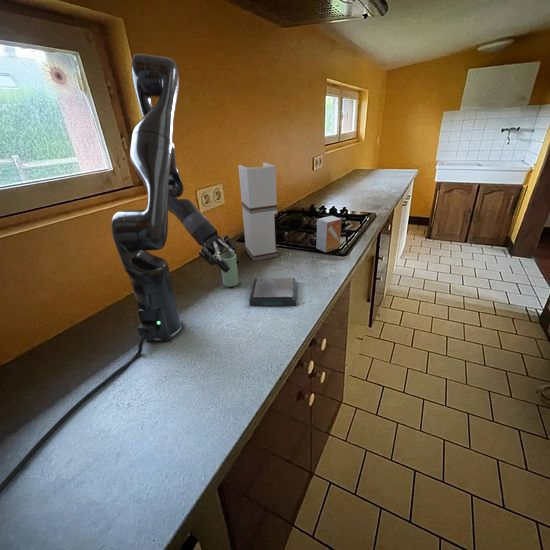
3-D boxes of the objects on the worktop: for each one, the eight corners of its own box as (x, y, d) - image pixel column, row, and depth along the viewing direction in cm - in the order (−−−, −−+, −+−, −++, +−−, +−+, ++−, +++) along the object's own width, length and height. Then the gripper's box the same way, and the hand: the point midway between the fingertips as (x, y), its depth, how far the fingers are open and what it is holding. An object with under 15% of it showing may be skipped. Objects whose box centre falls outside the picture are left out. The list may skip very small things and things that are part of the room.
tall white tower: (278, 256, 124) (275, 166, 107) (253, 260, 120) (246, 168, 104) (269, 246, 133) (265, 162, 117) (246, 250, 130) (238, 165, 114)
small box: (325, 253, 124) (327, 222, 118) (315, 248, 129) (316, 218, 123) (340, 248, 128) (342, 218, 122) (329, 244, 133) (331, 215, 127)
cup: (237, 286, 100) (234, 259, 96) (221, 286, 101) (217, 259, 96) (239, 278, 105) (237, 252, 101) (224, 278, 105) (221, 252, 101)
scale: (296, 306, 90) (296, 299, 89) (249, 306, 91) (249, 299, 90) (295, 283, 103) (295, 276, 102) (254, 283, 104) (254, 276, 103)
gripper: (189, 227, 91) (226, 270, 91) (218, 215, 102) (251, 253, 103) (179, 241, 96) (214, 282, 96) (208, 228, 107) (239, 264, 107)
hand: (233, 267), depth 99 cm, fingers closed on cup, 5 cm apart
